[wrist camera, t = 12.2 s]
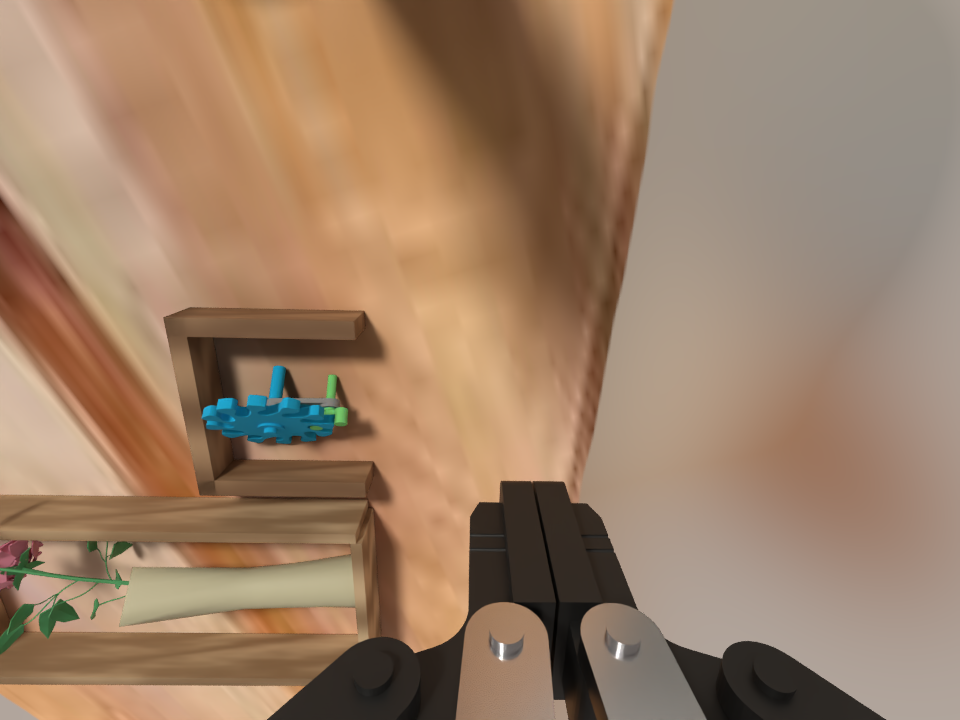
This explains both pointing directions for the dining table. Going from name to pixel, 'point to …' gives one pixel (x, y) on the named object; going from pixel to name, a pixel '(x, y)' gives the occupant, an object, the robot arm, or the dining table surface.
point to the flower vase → (184, 588)
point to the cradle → (203, 388)
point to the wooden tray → (189, 653)
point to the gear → (278, 414)
